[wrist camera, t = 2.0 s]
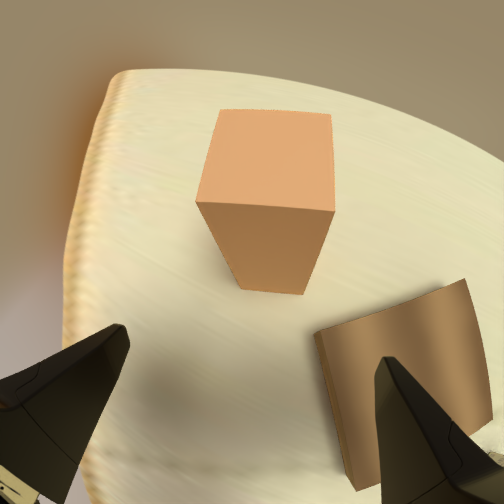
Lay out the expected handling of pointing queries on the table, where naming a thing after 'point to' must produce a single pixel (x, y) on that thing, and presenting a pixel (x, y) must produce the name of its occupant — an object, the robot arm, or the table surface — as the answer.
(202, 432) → the table surface
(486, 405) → the walnut block
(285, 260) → the terracotta block
